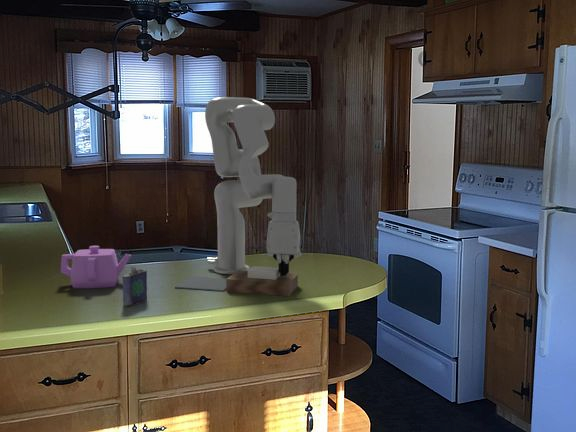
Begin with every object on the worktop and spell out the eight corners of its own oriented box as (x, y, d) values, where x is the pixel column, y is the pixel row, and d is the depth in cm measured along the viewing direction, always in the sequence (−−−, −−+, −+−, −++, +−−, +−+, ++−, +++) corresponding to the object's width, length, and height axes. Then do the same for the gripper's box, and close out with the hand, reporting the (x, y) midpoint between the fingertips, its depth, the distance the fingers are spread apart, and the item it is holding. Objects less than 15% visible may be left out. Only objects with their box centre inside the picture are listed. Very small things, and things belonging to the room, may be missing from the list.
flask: (127, 307, 188) (126, 270, 186) (120, 306, 189) (118, 269, 188) (149, 299, 196) (148, 264, 194) (141, 298, 197) (140, 263, 196)
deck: (226, 291, 205) (226, 279, 204) (237, 282, 216) (237, 270, 216) (289, 295, 201) (289, 283, 200) (297, 286, 212) (297, 273, 211)
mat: (175, 288, 209) (175, 286, 209) (191, 277, 222) (191, 276, 222) (223, 291, 205) (223, 290, 205) (236, 280, 219) (236, 279, 219)
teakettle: (57, 284, 212) (55, 247, 210) (99, 274, 226) (98, 239, 224) (91, 293, 202) (90, 253, 200) (133, 282, 216) (132, 245, 214)
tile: (247, 277, 206) (247, 270, 205) (252, 273, 211) (252, 266, 211) (275, 279, 204) (275, 272, 203) (280, 275, 210) (280, 267, 209)
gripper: (257, 218, 201) (257, 276, 204) (305, 220, 198) (304, 279, 201) (263, 214, 209) (263, 271, 211) (310, 216, 205) (309, 273, 208)
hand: (283, 275), depth 206 cm, fingers closed
